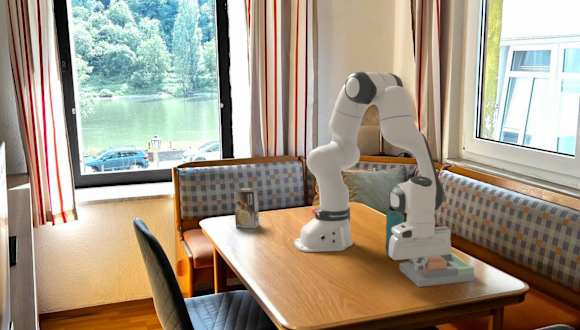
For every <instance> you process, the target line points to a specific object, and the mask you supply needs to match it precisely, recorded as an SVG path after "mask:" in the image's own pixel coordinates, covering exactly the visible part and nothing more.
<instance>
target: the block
mask: <svg viewBox="0 0 580 330" xmlns="http://www.w3.org/2000/svg"><path fill="white" fill-rule="evenodd" d="M439 269H447V261H446V260H445V259H444V258H442V257H441V256H431V257H428V261H427V263H426V265H425V270H422V271H424V272H425V273H426V274H427V271H430V270H439Z"/></svg>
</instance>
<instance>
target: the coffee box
mask: <svg viewBox="0 0 580 330" xmlns="http://www.w3.org/2000/svg"><path fill="white" fill-rule="evenodd" d="M233 198H234V199H233V201H234V202H233V203H234V219H235V228H236V227H242V228H241V229H257V228H258V227H259V226H260V217H259V216H260V215H259V213H260V212H259V194H258V188H250V187H249V188H246V187H245V188H244V187H237V188H235V190H234V191H233Z"/></svg>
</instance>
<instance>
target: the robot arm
mask: <svg viewBox="0 0 580 330" xmlns="http://www.w3.org/2000/svg"><path fill="white" fill-rule="evenodd" d="M403 83H404V82H403V80H402V79H401V78H400V77H399V76H398V75H397V74H394V73H392V72H391V73H390V72H382V71H367V72H366V71H357V72H354V73H352V74H350V75H349V76H348V77H347V78H346V79H345V83H344V85H343V86H342V88H341V90H340V91H339V93H338V95H337V99H336V101H335V104H334V107H333V110H332V113H331V116H330V119H329V123H328V128H329V130H330V132H331V140H330V142H329V143H328V144H324V145H321V146H317V147H315V148H314V149H312V150H311V151H309V153H307V155H306V166H307V169H308V170H309V171H308V172H310V173H311V174H312V175H313V176H314V177H315V179H316V181H317V185H318V192H319V194H318V195H319V207H318V208H316V207H312V208H311V210H310V211H311V212H312V214H314V218H312V219H311V220H309V222H307V223H306V224H305V225H303V226H302V228H301V231H300V235H299V237H298V238H295V239H294V243H293V244H294V246H295V248H296V249H297V250H299V251H300V252H301V251H302V252H304V253H314V252H315V253H318V252H320V253H321V252H342V251H345V250H346V249H347V248H349V247H352V245H353V244H354V240H353V237H352V234H351V227H350V226H351V225H350V222H351V208H350V207H349V206H350V204H349V203H350V201H349V200H350V199H349V198H350V197H349V193H350V192H349V187H348V186H347V184H345V183H344V181H343V179H342V178H343V177H342V172H343V171H345V170H348V169H351V168H352V167H354V166H355V165H356V164H358V163H359V162H360V157H361V151H360V149H359V147H358V135H359V131H360V128H361V124H362V121H363V119H364V116H365V113H366V109H367V106H368V105H375V107H376V108H377V111H378V117H379V118H378V119H379V128H380V132H381V136H382V137H383V139H384V140H385V141H386V142H387V143H389V144H390V145H392V146H394V147H396V148H400V149H403V150H406V151H407V152H410V153H411V154H412V155H413V156H414V158H415V160H416V162H417V163H416V164H417V166H418V170H419V174H420V175H415V176H412V177H410V178H409V179H408V180H407V181H405V182H404V181H403V182H400V183H397V184H394V185H393V186H392V187H391V188H390V190H389V195H388V200H389V206H390V205H391V207H392V208H393V209H394V210H396V211H395V212H400V213H405V214H406V219H405V220H404V222H403V223H401V224H399V225H396V226H394V227H392V229H391V231H392V233H393V235H392V236H391V238H390V241H389V250H388V253H389V255H388V257H389V258H391V259H392V260H393V261H400V260H402V261H403V260H409V259H411V260H412V261H413V263H414V264H415V270H416V271H419V270H425V265H426V263H427V261H428V257H431V256H441V255H449V254H450V252H452V243H451V237H452V236H451V235H452V231H451V228H449V227H448V226H445V225H443V226H436V219H435V218H436V216H435V211H436V210H439V208H440V207H441V206H442V205H443V203H444V202H445V198H446V194H445V193H446V192H445V189H444V187H443V184H442V183H441V180H440V178H439V176H438V172H437V168H436V166H435V162H434V159H433V154H432V151H431V149H430V144H429V142H428V140H427V138H426V136H425V134H424V133H423V132H420V130H419V129H418V127H417V125H416V123H415V120H414V115H413V114H414V113H413V108H412V104H411V101H410V97H409V94H408V91H407V90H406V89H405V87H404V84H403ZM418 258H423V260H422V262H421V263H420V264H418V263H417V262H416V261H418Z"/></svg>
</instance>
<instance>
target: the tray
mask: <svg viewBox="0 0 580 330" xmlns="http://www.w3.org/2000/svg"><path fill="white" fill-rule="evenodd" d="M441 257H442V258H444V259H445V260H446V261H447V269H439V270H430V271H427V274H426V273H425V272H424V271H422V270H419V271H416V270H415V264H414V263H413V261H412V260H411V259H408V260H409V261H407V262H406V261H405V262H400V263H399V271H400V272H401V273H403V275H405V276H406V277H407V278H408V279H409V280H410V281H412V282H413V283H414V284H415V285H416V286H417V287H419V288H420V287H428V286H430V287H431V286H438V285H439V286H440V285H447V284H456V283H462V282H463V283H464V282H473V281H474V279H475V278H474V277H475V267H474V266H473V265H471V264H470V263H468V262H467V261H465V260H464V259H462V258H460V257H459V256H458V255H457V254H455V253H454V252H452V251H451V252H450V254H449V255H441ZM422 260H423V258H418V261H416V262H417V263H418V264H420V263H421V262H422Z"/></svg>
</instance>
